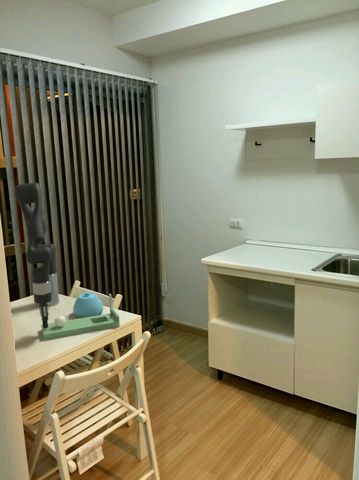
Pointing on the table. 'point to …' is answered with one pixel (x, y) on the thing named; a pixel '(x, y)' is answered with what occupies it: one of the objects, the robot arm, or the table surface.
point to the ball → (60, 321)
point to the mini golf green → (81, 325)
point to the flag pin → (110, 305)
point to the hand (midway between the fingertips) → (45, 327)
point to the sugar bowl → (87, 305)
